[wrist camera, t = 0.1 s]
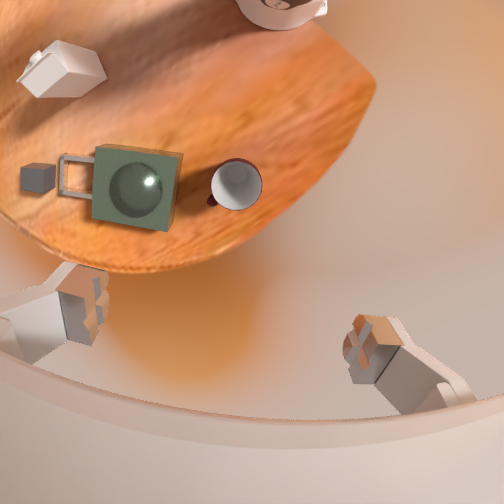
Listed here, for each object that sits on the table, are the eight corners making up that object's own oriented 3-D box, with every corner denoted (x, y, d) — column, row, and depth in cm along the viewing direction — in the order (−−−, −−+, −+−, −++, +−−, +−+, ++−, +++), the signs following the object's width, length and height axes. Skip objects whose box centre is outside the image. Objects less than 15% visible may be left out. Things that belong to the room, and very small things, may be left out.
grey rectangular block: (33, 162, 50) (20, 167, 46) (56, 164, 51) (43, 169, 47) (33, 183, 52) (20, 189, 48) (55, 186, 53) (43, 193, 49)
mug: (230, 211, 58) (228, 231, 49) (198, 185, 55) (190, 200, 46) (267, 172, 54) (273, 184, 45) (235, 143, 52) (234, 149, 43)
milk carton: (108, 78, 44) (54, 69, 27) (80, 97, 45) (22, 99, 28) (96, 51, 41) (42, 35, 24) (69, 71, 42) (11, 65, 25)
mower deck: (66, 140, 49) (51, 144, 44) (183, 153, 52) (177, 158, 47) (63, 203, 55) (50, 212, 50) (173, 222, 58) (166, 233, 53)
